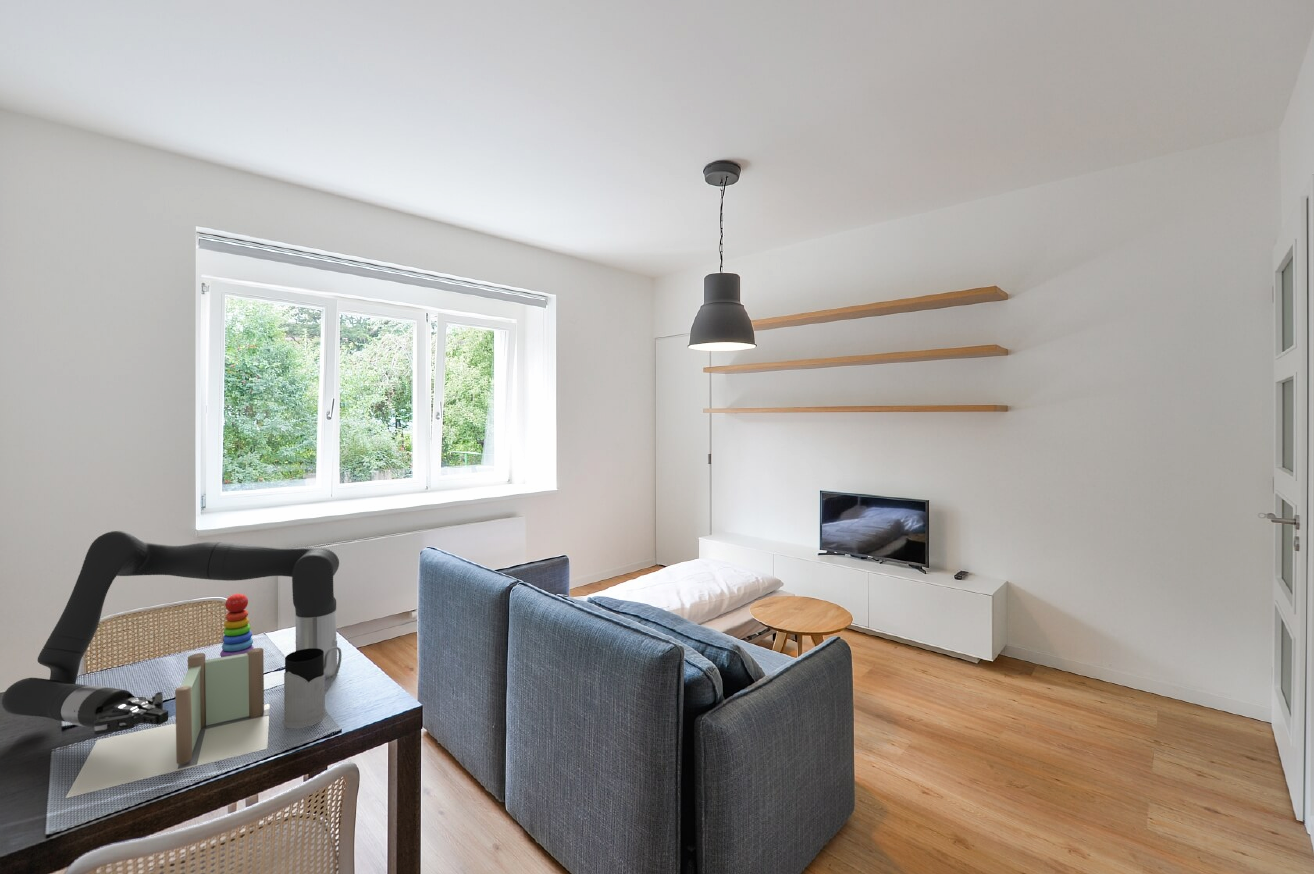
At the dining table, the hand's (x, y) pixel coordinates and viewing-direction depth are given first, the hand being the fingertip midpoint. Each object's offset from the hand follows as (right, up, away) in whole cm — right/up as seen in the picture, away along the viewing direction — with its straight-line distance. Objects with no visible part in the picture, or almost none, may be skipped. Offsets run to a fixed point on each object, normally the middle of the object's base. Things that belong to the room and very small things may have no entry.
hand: (164, 717), depth 116 cm
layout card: (0, -8, +5) cm, 9 cm away
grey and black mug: (+19, -8, +18) cm, 28 cm away
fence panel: (+3, -7, +3) cm, 8 cm away
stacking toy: (-17, -6, +44) cm, 47 cm away
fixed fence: (+3, -7, +14) cm, 16 cm away
